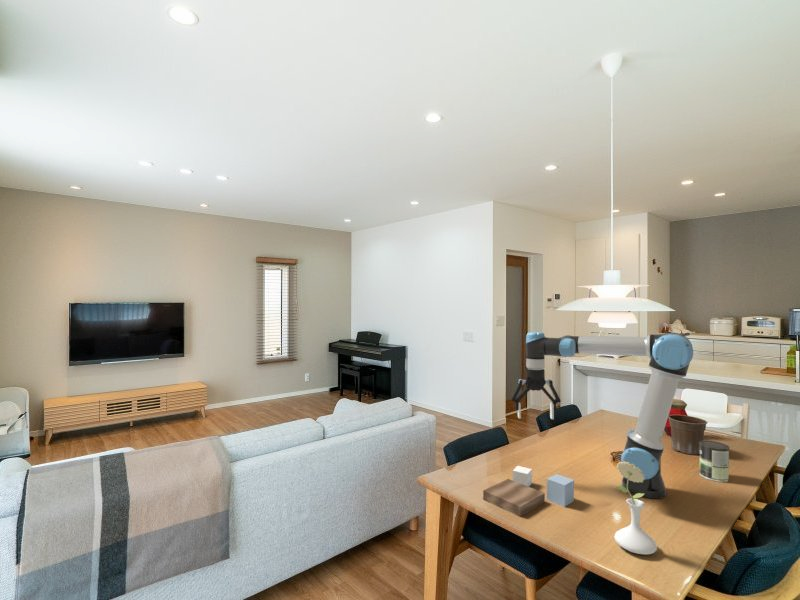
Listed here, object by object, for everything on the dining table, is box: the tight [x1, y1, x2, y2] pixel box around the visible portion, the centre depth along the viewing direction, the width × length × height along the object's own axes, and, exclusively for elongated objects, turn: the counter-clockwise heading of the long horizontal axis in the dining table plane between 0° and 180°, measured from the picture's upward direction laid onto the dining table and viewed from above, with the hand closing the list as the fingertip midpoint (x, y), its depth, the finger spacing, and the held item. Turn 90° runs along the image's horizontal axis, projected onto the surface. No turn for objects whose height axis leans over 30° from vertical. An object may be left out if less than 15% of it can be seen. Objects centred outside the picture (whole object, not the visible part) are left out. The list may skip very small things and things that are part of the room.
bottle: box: [664, 398, 689, 438], centre depth 232 cm, size 16×14×20 cm
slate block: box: [546, 473, 575, 508], centre depth 155 cm, size 7×7×8 cm
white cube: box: [512, 465, 533, 487], centre depth 169 cm, size 6×6×6 cm
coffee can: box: [698, 439, 730, 483], centre depth 177 cm, size 10×10×14 cm
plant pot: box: [668, 415, 708, 456], centre depth 209 cm, size 16×16×16 cm
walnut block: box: [482, 478, 546, 517], centre depth 155 cm, size 16×16×4 cm
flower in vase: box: [614, 461, 658, 556], centre depth 127 cm, size 13×11×25 cm
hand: (535, 418), depth 176 cm, fingers open, 13 cm apart
